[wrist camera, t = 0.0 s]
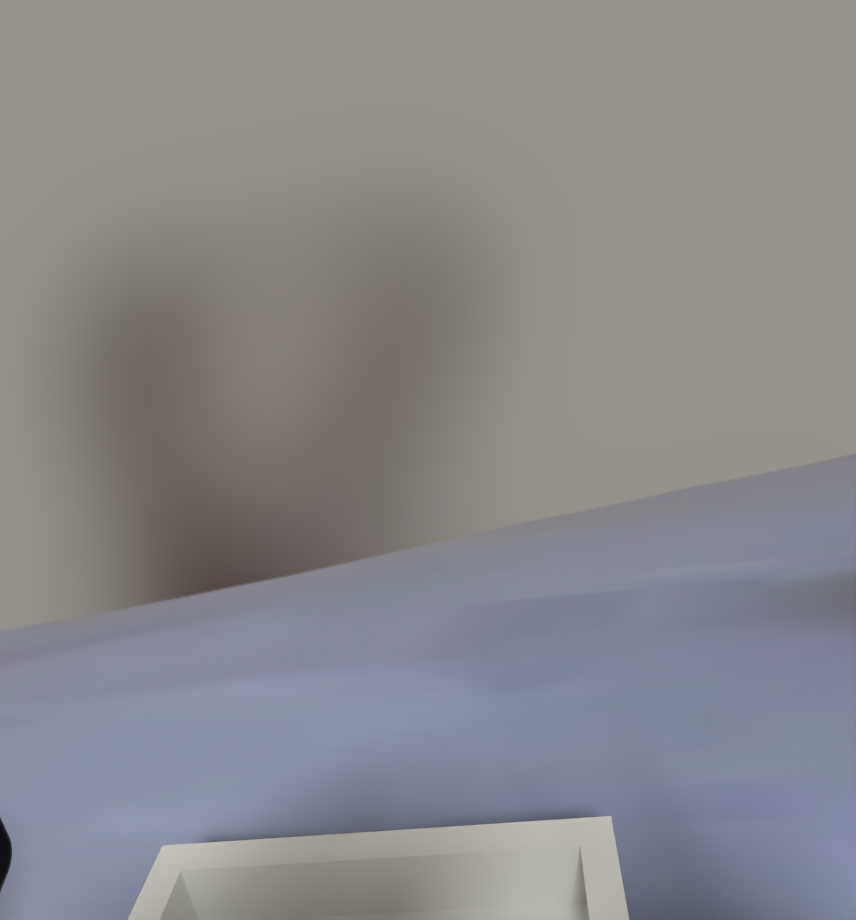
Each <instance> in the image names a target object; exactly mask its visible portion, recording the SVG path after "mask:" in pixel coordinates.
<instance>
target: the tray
mask: <svg viewBox="0 0 856 920" xmlns="http://www.w3.org/2000/svg"><path fill="white" fill-rule="evenodd" d="M128 920H629V915H628V910H627V904H626V898H625V893H624V887H623V881H622V876H621V870H620V864H619V859H618V853H617V847H616V842H615V836H614V831H613V825H612V819H611V816H603V817H588V818H573V819H557V820H542V821H527V822H512V823H497V824H482V825H467V826H451V827H436V828H421V829H406V830H391V831H376V832H361V833H345V834H330V835H315V836H300V837H285V838H270V839H255V840H239V841H224V842H209V843H194V844H179V845H164V846H162V848H161V850H160V852H159V854H158V857H157V859H156V861H155V863H154V865H153V867H152V869H151V871H150V873H149V876H148V878H147V880H146V882H145V884H144V886H143V888H142V890H141V893H140V895H139V897H138V899H137V901H136V903H135V905H134V907H133V909H132V912H131V914H130V916H129V918H128Z"/></svg>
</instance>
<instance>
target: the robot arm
mask: <svg viewBox="0 0 856 920" xmlns="http://www.w3.org/2000/svg"><path fill="white" fill-rule="evenodd" d="M11 858H12V847H11V841H10V838H9V835H8V833H7V831H6V829H5V827H4V825H3V822H2V820H1V818H0V891H1V889H2V886H3V884H4V881H5V878H6V876H7V873H8V871H9V868H10V863H11Z"/></svg>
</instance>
